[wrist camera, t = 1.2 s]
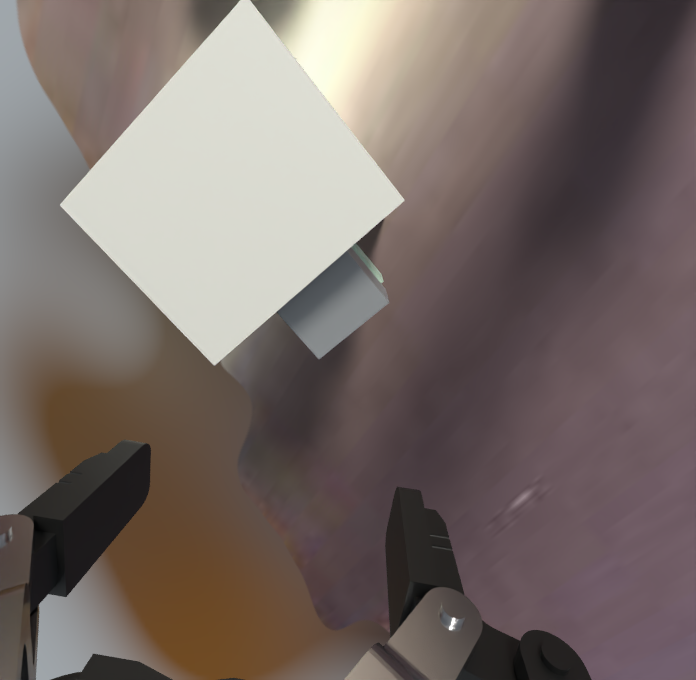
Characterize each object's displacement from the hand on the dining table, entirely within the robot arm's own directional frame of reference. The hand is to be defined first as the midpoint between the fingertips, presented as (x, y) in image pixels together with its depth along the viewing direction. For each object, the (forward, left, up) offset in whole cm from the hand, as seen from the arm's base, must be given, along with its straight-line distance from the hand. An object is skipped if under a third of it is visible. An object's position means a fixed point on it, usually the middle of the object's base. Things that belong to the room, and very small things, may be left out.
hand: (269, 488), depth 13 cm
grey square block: (-3, -4, -15) cm, 16 cm away
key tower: (-3, -9, -32) cm, 33 cm away
